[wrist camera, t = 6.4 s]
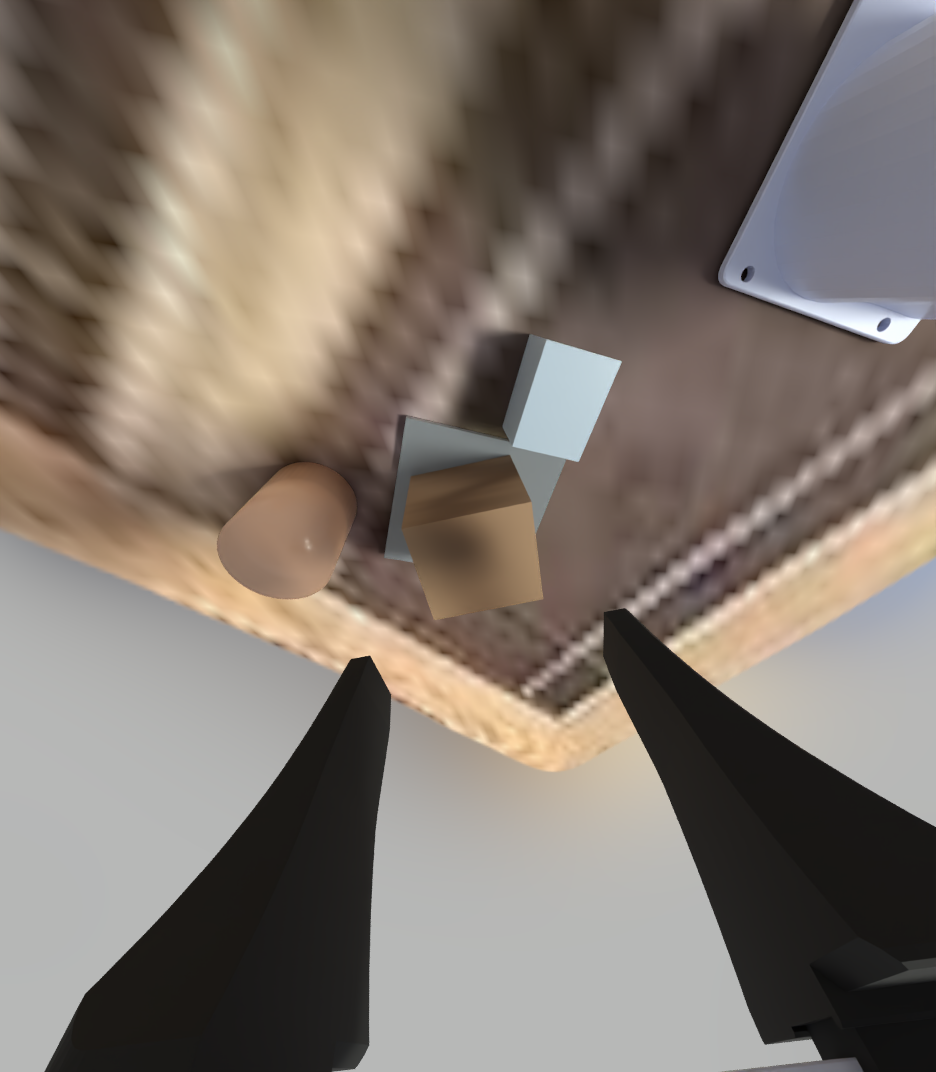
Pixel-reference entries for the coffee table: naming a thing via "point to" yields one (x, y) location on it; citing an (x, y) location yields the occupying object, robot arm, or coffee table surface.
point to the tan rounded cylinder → (290, 532)
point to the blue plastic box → (557, 398)
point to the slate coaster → (452, 447)
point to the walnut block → (472, 538)
